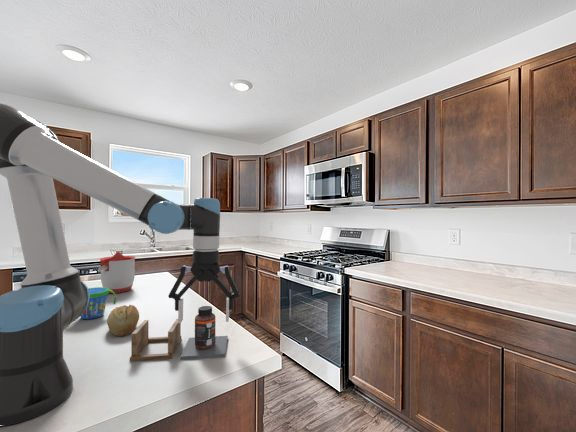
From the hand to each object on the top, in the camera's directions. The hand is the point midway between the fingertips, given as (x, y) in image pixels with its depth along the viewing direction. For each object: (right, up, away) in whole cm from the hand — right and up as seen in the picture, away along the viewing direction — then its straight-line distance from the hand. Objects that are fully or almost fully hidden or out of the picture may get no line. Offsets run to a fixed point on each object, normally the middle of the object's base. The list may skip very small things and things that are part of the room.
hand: (204, 320), depth 85 cm
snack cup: (-51, -8, +25) cm, 57 cm away
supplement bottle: (0, -8, 0) cm, 8 cm away
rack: (-14, -8, -1) cm, 16 cm away
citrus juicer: (-63, -7, +61) cm, 88 cm away
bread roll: (-32, -8, +14) cm, 36 cm away
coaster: (0, -8, 0) cm, 8 cm away
